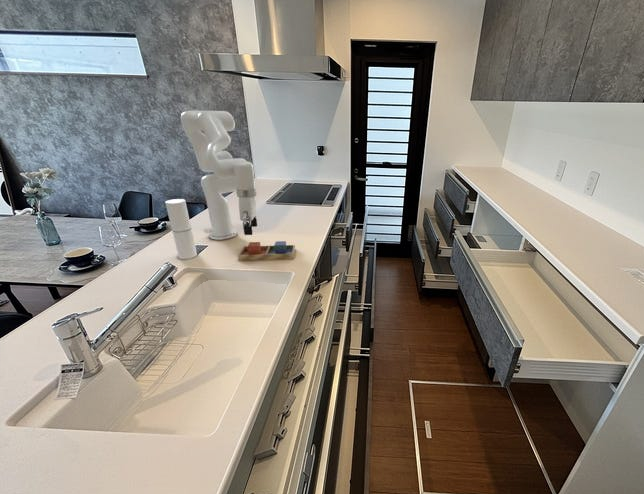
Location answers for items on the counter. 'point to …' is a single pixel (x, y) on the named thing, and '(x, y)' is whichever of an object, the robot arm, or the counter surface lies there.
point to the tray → (267, 253)
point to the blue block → (280, 247)
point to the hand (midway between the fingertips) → (251, 230)
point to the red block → (254, 248)
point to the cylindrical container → (181, 228)
